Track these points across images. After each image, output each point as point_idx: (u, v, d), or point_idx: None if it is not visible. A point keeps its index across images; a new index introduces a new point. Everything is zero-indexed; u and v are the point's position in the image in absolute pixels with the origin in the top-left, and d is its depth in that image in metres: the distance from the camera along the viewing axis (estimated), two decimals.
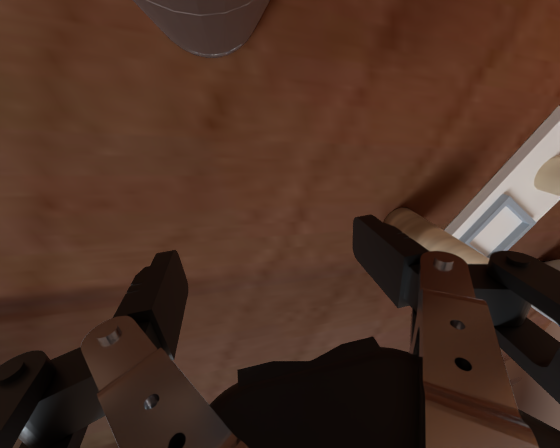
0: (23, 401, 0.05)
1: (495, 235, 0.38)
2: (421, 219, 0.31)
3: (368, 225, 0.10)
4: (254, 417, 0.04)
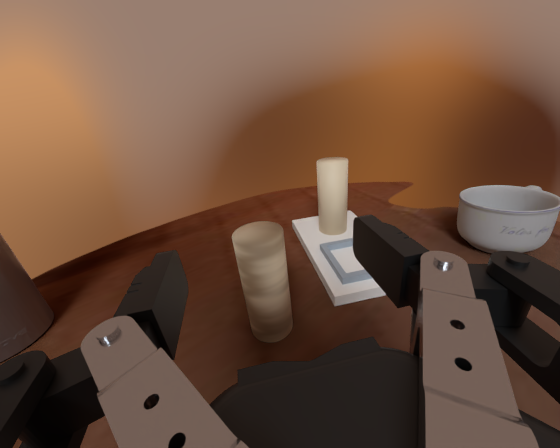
0: (24, 401, 0.05)
1: None
2: None
3: (368, 225, 0.10)
4: (254, 417, 0.04)
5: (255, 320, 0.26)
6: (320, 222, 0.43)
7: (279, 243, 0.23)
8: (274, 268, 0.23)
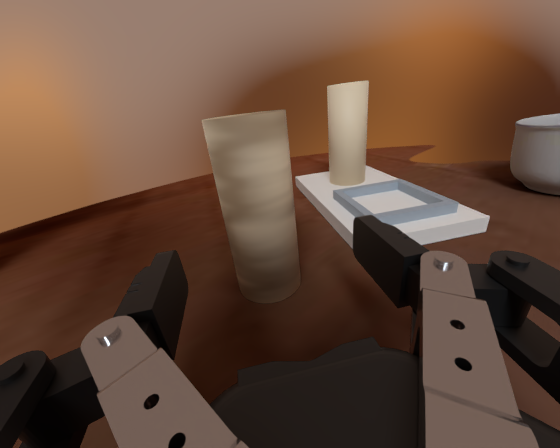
0: (24, 401, 0.05)
1: (399, 203, 0.27)
2: None
3: (368, 225, 0.10)
4: (254, 417, 0.04)
5: (243, 266, 0.17)
6: (331, 170, 0.34)
7: (279, 122, 0.13)
8: (271, 168, 0.14)
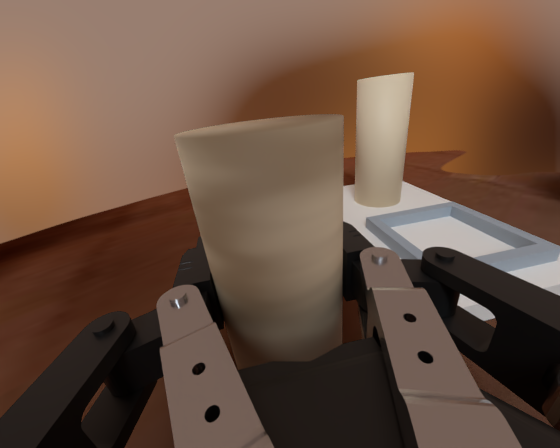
0: (108, 356, 0.06)
1: (461, 240, 0.19)
2: None
3: None
4: None
5: None
6: (359, 187, 0.27)
7: (336, 142, 0.06)
8: (316, 235, 0.07)
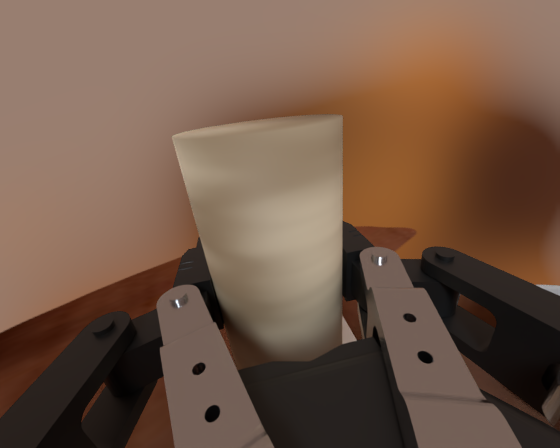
0: (108, 356, 0.06)
1: None
2: None
3: None
4: None
5: None
6: None
7: (335, 143, 0.06)
8: (315, 236, 0.07)
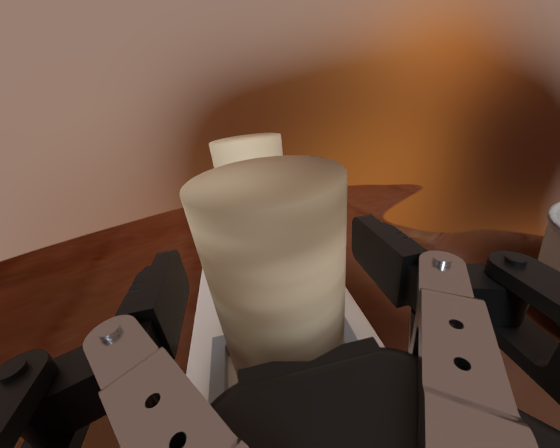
0: (26, 399, 0.05)
1: None
2: None
3: (367, 225, 0.10)
4: (254, 417, 0.04)
5: None
6: None
7: (340, 204, 0.06)
8: (320, 290, 0.07)
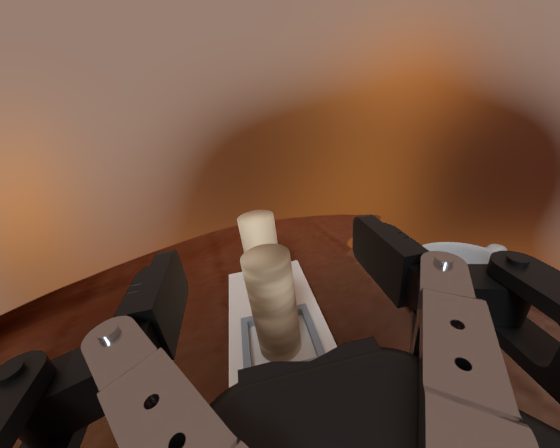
0: (23, 401, 0.05)
1: None
2: None
3: (368, 225, 0.10)
4: (254, 417, 0.04)
5: (264, 341, 0.26)
6: None
7: (286, 267, 0.23)
8: (282, 291, 0.23)
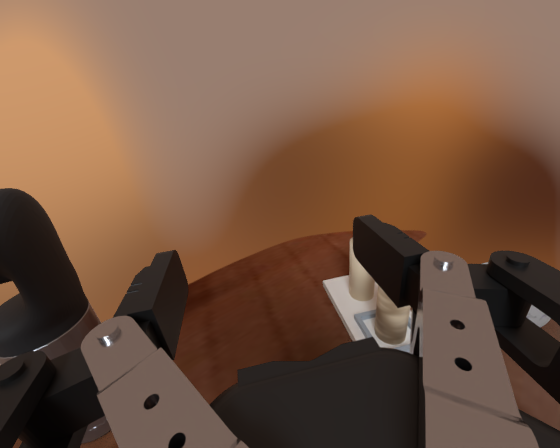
0: (24, 401, 0.05)
1: None
2: None
3: (368, 225, 0.10)
4: (254, 417, 0.04)
5: (387, 330, 0.39)
6: (351, 289, 0.50)
7: None
8: None
